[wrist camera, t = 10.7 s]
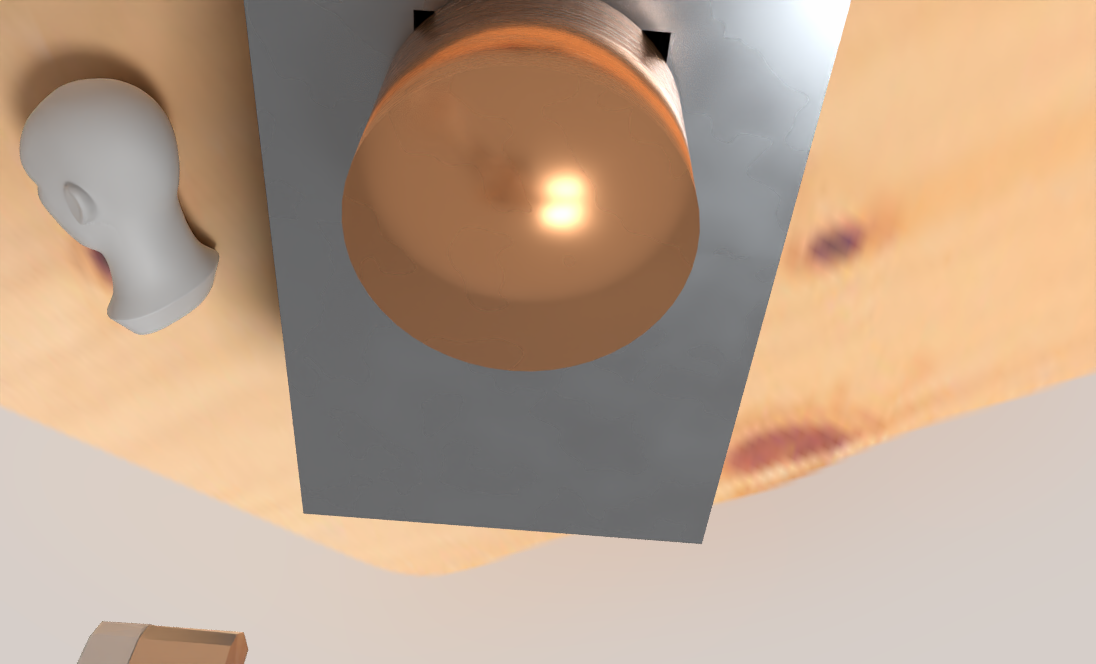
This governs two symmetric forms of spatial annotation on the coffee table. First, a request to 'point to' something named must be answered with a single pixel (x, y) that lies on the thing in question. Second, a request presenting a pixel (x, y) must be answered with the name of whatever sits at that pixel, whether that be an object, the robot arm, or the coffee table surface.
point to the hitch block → (551, 395)
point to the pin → (524, 185)
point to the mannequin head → (120, 196)
